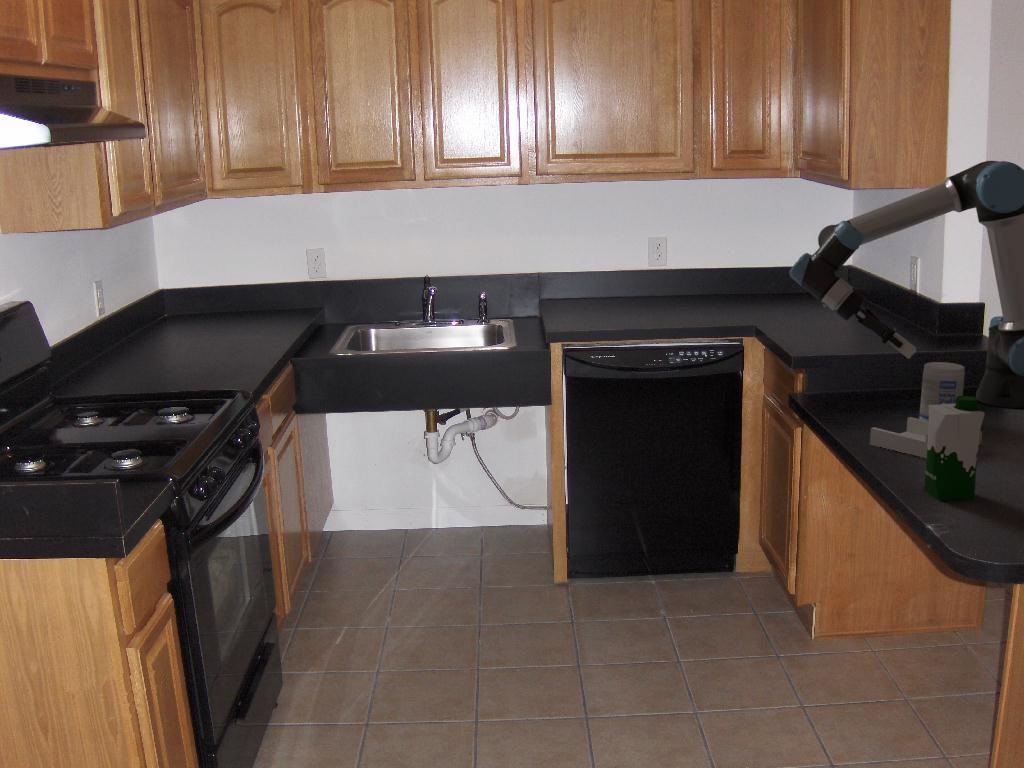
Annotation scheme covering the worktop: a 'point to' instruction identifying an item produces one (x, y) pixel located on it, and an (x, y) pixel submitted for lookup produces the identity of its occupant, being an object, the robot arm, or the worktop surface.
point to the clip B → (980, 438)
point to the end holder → (904, 438)
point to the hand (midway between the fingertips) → (913, 353)
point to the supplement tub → (940, 385)
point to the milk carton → (953, 449)
